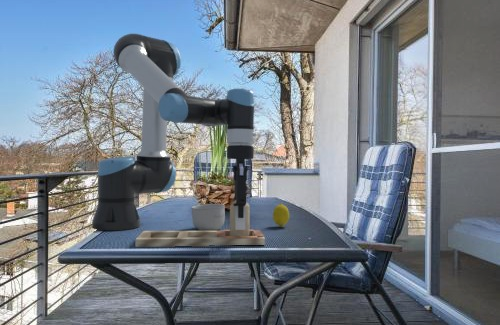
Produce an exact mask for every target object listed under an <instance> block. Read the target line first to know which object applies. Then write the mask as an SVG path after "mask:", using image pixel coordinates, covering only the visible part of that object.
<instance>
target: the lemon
mask: <svg viewBox="0 0 500 325" xmlns="http://www.w3.org/2000/svg"><path fill="white" fill-rule="evenodd" d="M272 219H273V222H274V223H275V224H276V225H277V226H278V227H280V228H282V227H283V226H285V225H286V224H288V222H289V220H290V211H289V208H288V207H287V206H286V205H284V204H283V203H279V204H278V205H277V206H275V207H274V209H273V213H272Z"/></svg>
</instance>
